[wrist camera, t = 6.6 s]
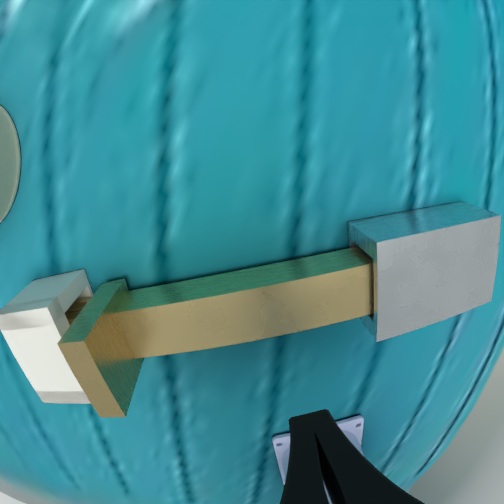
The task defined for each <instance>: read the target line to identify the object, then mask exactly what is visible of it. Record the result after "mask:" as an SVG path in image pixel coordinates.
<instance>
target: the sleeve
mask: <svg viewBox="0 0 504 504" xmlns="http://www.w3.org/2000/svg"><path fill="white" fill-rule="evenodd" d="M500 223H501V215H499V214H496V213H494V212H491V211H488V210H486V209H483V208H480V207H477V206H474V205H472V204H469V203H466V202H463V201H460V202H454V203H449V204H443V205H437V206H432V207H426V208H420V209H415V210H409V211H403V212H398V213H392V214H387V215H381V216H376V217H370V218H365V219H359V220H354V221H349V222H347V225H348V236H349V248H353V247H358V248H359V249H360V250H362V251H363V252H364V253H365V254H366V255H367V256H369V257H370V258H371V259H372V260H373V270H374V313H373V314H369V315H365V316H362V317H359V318H360V319H361V320H362V322H363V323H364V325H365V326H366V328H367V329H368V330H369V332H370V333H371V335H372V336H373V337H374V339H375V340H376V342H378V341H381V340H385V339H388V338H391V337H395V336H398V335H401V334H404V333H407V332H410V331H413V330H416V329H419V328H422V327H425V326H428V325H431V324H433V323H436V322H439V321H442V320H444V319H447V318H450V317H452V316H455V315H458V314H460V313H463V312H465V311H468V310H470V309H473V308H475V307H478V306H480V305H483V304H485V303H487V302H490V301H491V299H492V293H493V287H494V281H495V274H496V266H497V258H498V249H499V238H500Z"/></svg>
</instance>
